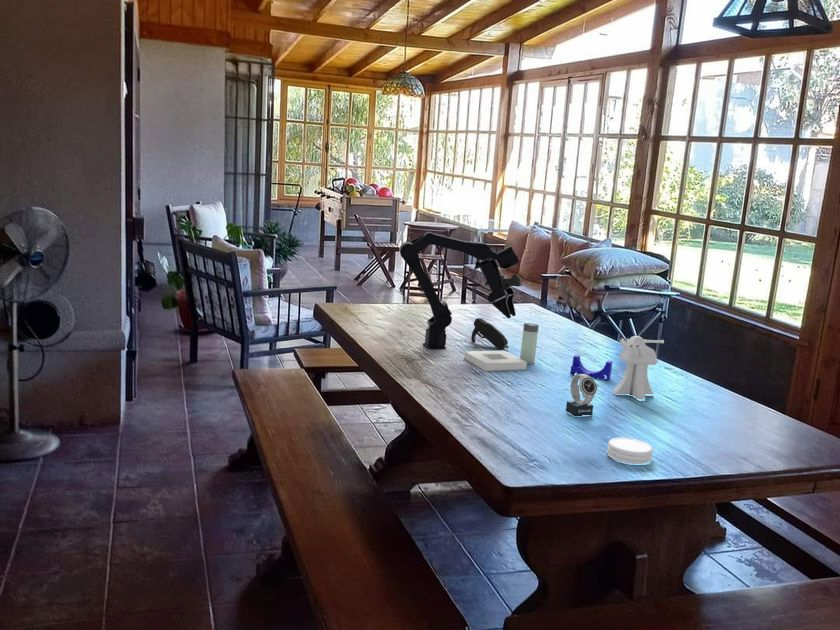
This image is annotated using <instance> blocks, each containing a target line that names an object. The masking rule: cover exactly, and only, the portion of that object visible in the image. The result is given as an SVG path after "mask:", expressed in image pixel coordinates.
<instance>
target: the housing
mask: <svg viewBox="0 0 840 630" xmlns="http://www.w3.org/2000/svg"><path fill="white" fill-rule="evenodd" d="M463 359H464V360H465V361H467V362H469V363H471V364H472V363H473V365H474V366H476V367H478V368H479V369H481V370H483V371H485V372H488V371H489V372H490V371H491V372H492V371H494V372H495V371H516V370H517V371H521V370H522V371H523V370H524V371H525V370H526V371H527V365H528V364H527V362H526V361H524V360H522V359H520V358H519V357H517V356H516V355H514V354H512V353H509V352H508V351H506V350H475V351H474V350H473V351H472V350H471V351H468V350H467V351H464V357H463Z"/></svg>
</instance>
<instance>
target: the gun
mask: <svg viewBox="0 0 840 630" xmlns="http://www.w3.org/2000/svg"><path fill="white" fill-rule="evenodd" d="M473 326H474V328H473V330H472V332H471V336H470V337H471V342H472V343H476V337H477V336H478V337H479V338H480V339H486V340H487V341H488V342H489V343H490V344H492V345H493V346H494V347H495V348H496V349H497V350H500V351H503V350H504V349H509V347H510V346H509V345H508V344H509V341H508V339H507V338H506V337H505V335H504V334H503V333H502V332H501V331H500V330H499V329H497V327H495V325H493V324H491V323H489V322H487V321H486V320H484V319H483V318H481V317H479V318H478V317H477V318H475V320H474V321H473Z"/></svg>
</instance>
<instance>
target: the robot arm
mask: <svg viewBox="0 0 840 630" xmlns="http://www.w3.org/2000/svg"><path fill="white" fill-rule="evenodd" d="M431 245H433V246H437V247H440V248H444V249H445V248H446V249H449V250H454V251H458V252H462V253H464V254H466V255H469V256H471V257H472V258H475V259H477V260H479V261H480V262H479V261H475V265H474V267H473V270H475V271H476V270H479V269H480V273H481V274H482V276H483V279H484V281H485V282H484V283H485V285H486V286H488V288H489V291H490V293H488V296H487V300H488V303H489V304H491V305H492V306H493V307H494V308H495V309H497V310H498V312H500V313H502V314H503V316H505V317H506V318H507V319H510V318H512V317H515V316H516V315H517V314H516V309H515V304H514V298H515V296H516V294H515V293H516V291H515V288H514V287H521V286H523V285H522V282H523V279H522V276H519V275H518V274H512V275H511V277H505V275H503V274H501V272H500V270H502V269H503V270H504V271H506V270H508V269H511V268H513V267H515V266H516V265H519V264H520V260H519V257H518V255H517V254H516V253H515V251H514V250H513V248H512V246H511V245H509V246H507V247H506V248H505V249H502V250H500V251H498V252H497V251H495V250H492V249H491V247H490V246H489V245H488V244H487V243H485V242H483V241H473V240H472V241H471V240H469V241H468V240H461V239H457V238H453V237H448V236H445V235H441V234H437V233H433V232H431V231H427V232H425V233H424V234H422V235H420V236H418V237H416V238H414V239H413V240H410V241H405V242H402V243H401V245H400V246H399V248H398V251H399V253H400V256H401V258H402V259H403V260H404V262H405V263H406V264H407V266H408V267H409V268H410V270H411V271H412V273H413V275H414V276H415V278H416V280H417V283H418V284H419V286H420V288H421V290H422V291H423V293H424V295H425V298H426V299H427V301H428V304H429V306H430V310H431V314H432V316H431V317H430V318H428V320H426V322H427V327H428V328H425V335H424V336H425V337H424V342H423V343H422V345H423V346H425V347H426V348H427V349H434V350H436V349H437V350H439V349H441V350H442V349H447V346H446V345H447V344H446V343H447V333H446V332H447V331H446V328H447V327H449V326H450V325H451V324H452V321H453V318H452V315H453V312H452V311H451V310H450V309H449V306H448V303H447V302H446V301H443V302H442V301H441V300H440V299H439V297H438V295H437V293H436V291H435V288H434V287H433V285H432V284H431V282H430V279H429V277H428V275H427V273H426V271H425V270H424V268H423V265H422V263H421V260H420V256H419V253H420V252H422V251H423V250H425V249H426V248H427V247H429V246H431ZM488 259H490V260H488Z"/></svg>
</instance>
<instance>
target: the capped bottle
mask: <svg viewBox="0 0 840 630" xmlns="http://www.w3.org/2000/svg"><path fill="white" fill-rule="evenodd" d="M539 327H540V326H539V324H537V323H534V322H533V323H532V322H526V323H525V322H524V323H523V329H522V336H521V337H522V339H521V346H520V347H521V348H520V359H522V360H524V361H526V362H527V365H534V364H535V361H536V353H537V352H536V351H537V344H538V335H539V334H538V333H539Z"/></svg>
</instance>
